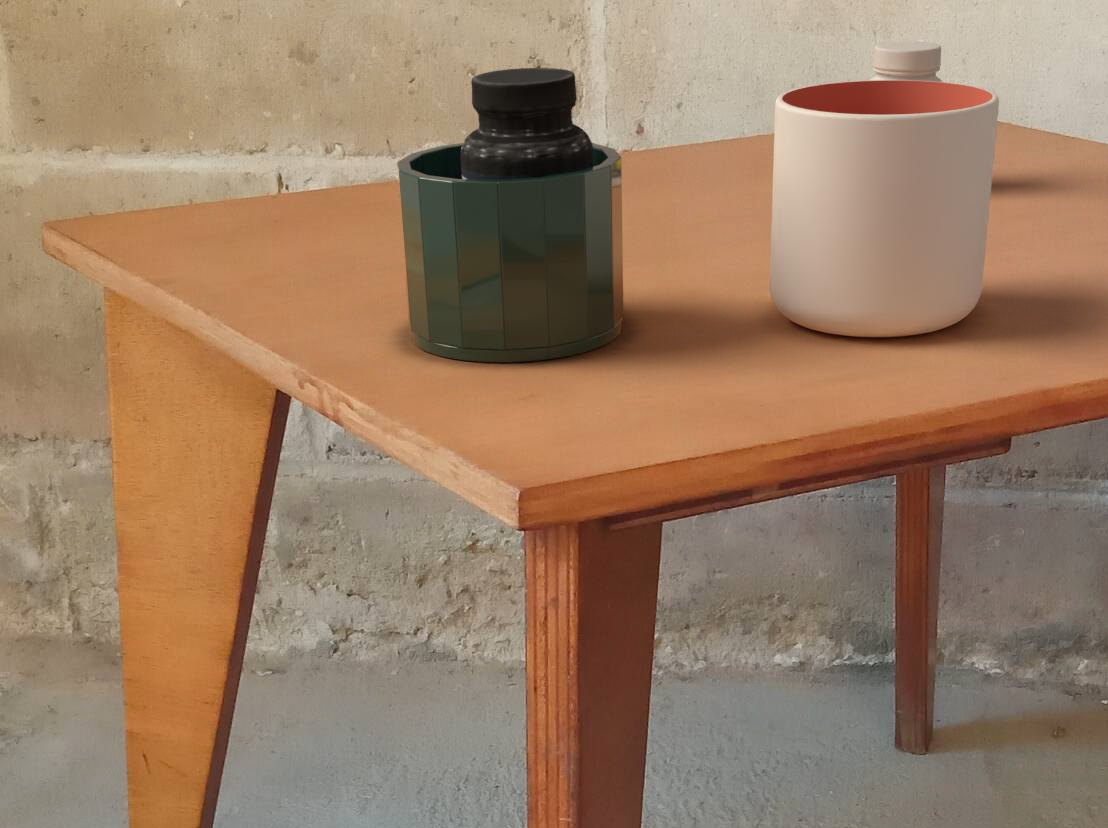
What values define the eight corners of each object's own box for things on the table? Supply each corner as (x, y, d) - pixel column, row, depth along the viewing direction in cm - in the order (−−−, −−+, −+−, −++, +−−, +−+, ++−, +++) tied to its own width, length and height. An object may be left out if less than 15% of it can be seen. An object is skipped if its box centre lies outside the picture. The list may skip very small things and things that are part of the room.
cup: (765, 344, 79) (772, 117, 74) (771, 288, 87) (777, 81, 82) (987, 346, 77) (1009, 114, 72) (971, 288, 86) (989, 78, 81)
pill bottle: (577, 297, 85) (571, 61, 79) (614, 329, 80) (610, 78, 74) (457, 310, 83) (442, 71, 78) (486, 343, 78) (473, 90, 73)
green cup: (642, 306, 85) (641, 139, 81) (592, 367, 76) (588, 184, 72) (449, 299, 87) (438, 137, 84) (380, 357, 79) (365, 179, 75)
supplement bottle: (851, 195, 106) (858, 50, 101) (868, 179, 109) (876, 39, 105) (928, 199, 104) (939, 51, 100) (943, 183, 108) (954, 40, 103)
